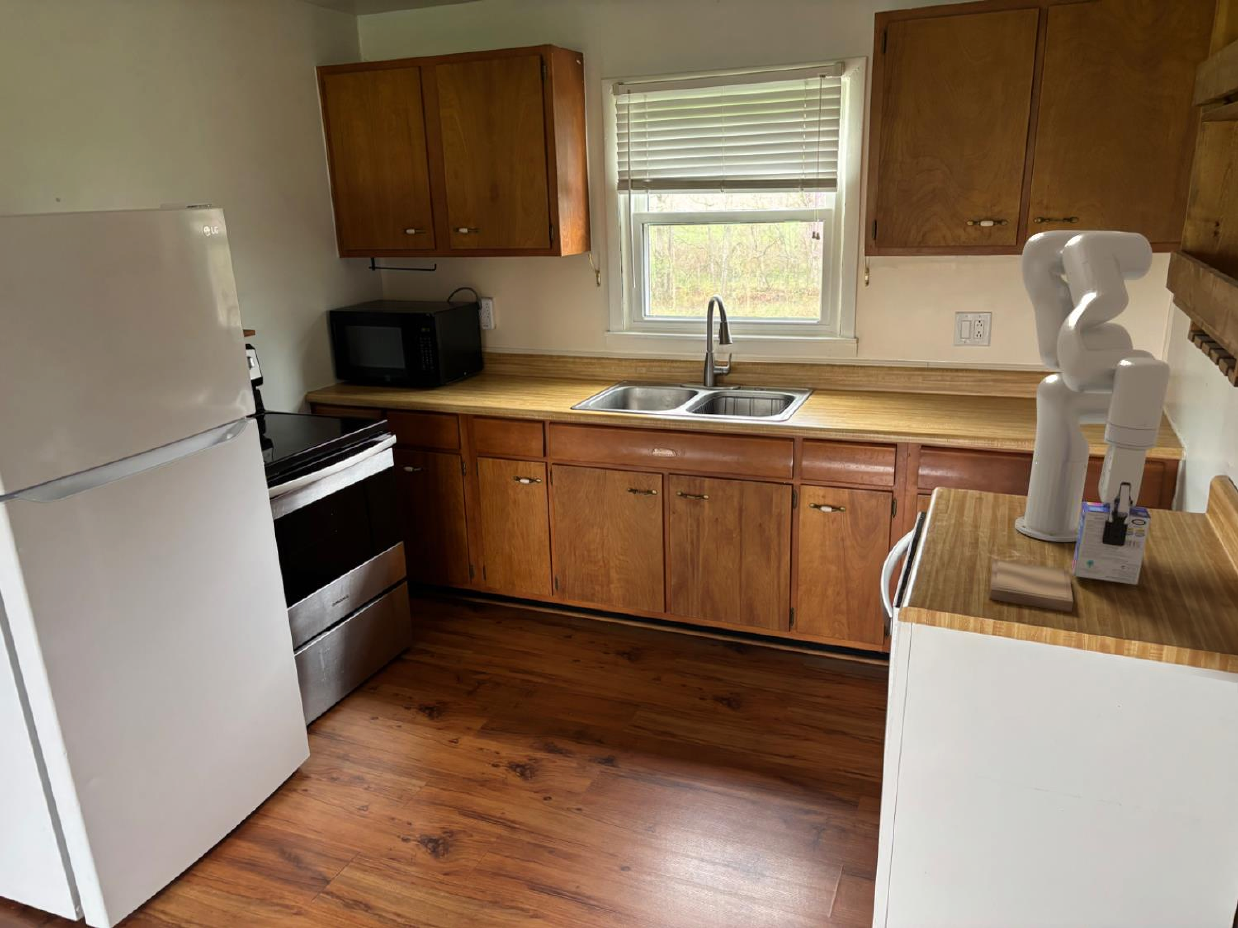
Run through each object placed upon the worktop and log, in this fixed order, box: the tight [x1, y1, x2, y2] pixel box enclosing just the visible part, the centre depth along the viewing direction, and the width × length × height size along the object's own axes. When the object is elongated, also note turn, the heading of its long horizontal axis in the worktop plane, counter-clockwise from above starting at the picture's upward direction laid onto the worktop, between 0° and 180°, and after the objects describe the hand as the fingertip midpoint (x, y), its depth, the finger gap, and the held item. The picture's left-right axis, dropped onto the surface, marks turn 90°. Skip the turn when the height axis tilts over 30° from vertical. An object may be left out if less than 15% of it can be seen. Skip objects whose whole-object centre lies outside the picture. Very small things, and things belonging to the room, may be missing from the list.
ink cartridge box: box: [1071, 501, 1152, 585], centre depth 150 cm, size 10×6×14 cm, turn 70°
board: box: [989, 558, 1074, 613], centre depth 149 cm, size 14×12×2 cm
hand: (1111, 536), depth 150 cm, fingers closed on ink cartridge box, 5 cm apart
